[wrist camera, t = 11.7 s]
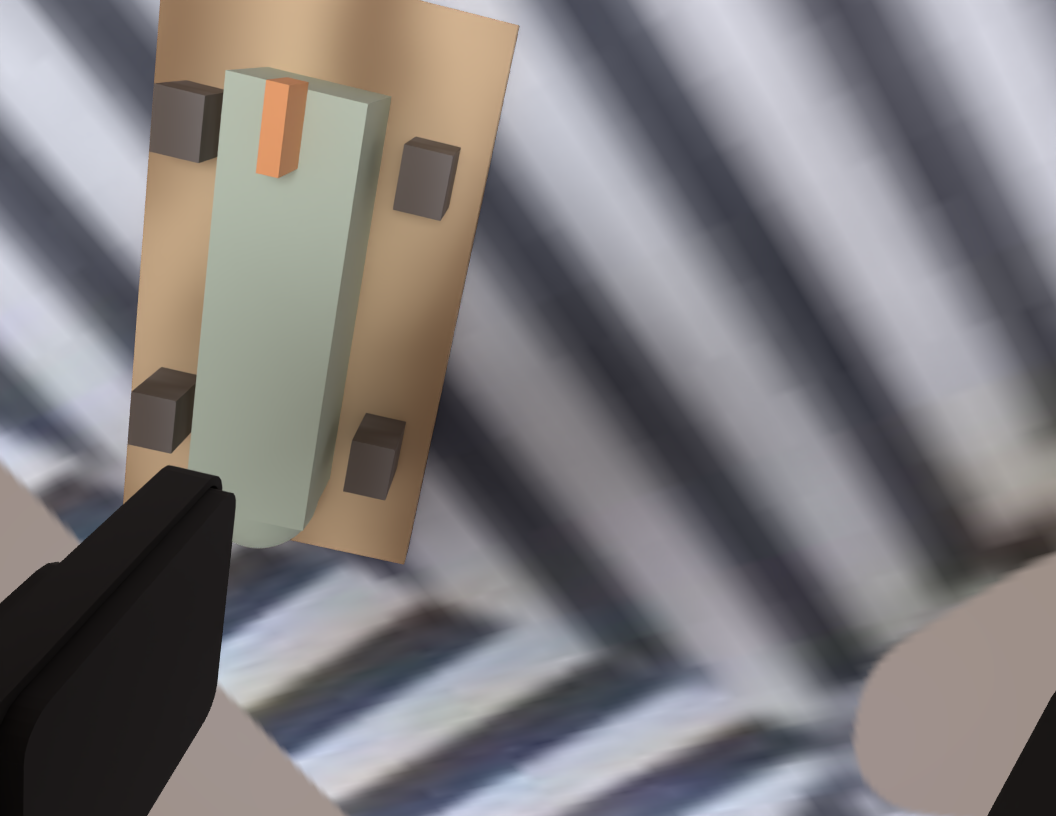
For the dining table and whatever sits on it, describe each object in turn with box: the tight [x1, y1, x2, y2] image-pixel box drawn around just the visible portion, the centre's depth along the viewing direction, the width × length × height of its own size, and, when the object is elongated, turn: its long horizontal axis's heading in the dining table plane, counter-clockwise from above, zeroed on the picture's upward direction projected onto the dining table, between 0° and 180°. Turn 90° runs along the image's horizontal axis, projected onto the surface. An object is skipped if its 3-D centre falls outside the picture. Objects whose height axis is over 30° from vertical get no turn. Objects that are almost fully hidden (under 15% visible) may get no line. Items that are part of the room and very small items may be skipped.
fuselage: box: [188, 67, 392, 548], centre depth 29 cm, size 4×16×6 cm, turn 167°
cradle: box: [123, 0, 519, 564], centre depth 31 cm, size 11×20×4 cm, turn 167°
